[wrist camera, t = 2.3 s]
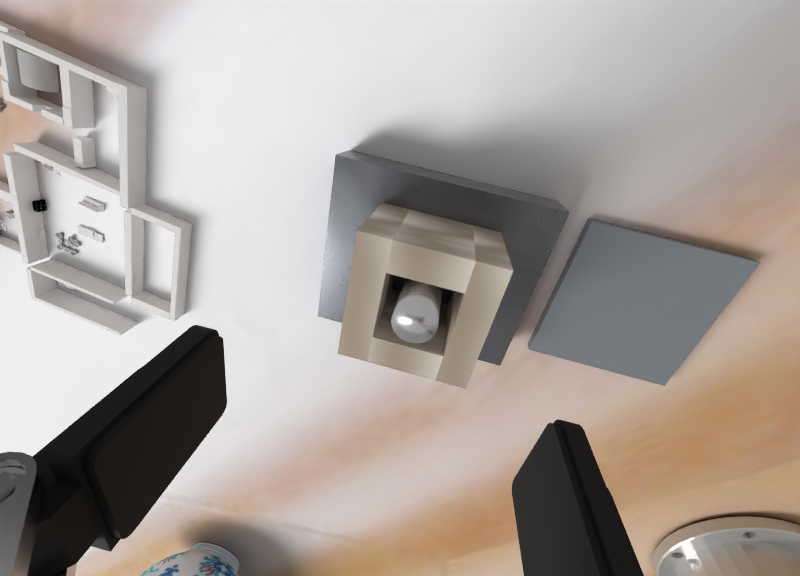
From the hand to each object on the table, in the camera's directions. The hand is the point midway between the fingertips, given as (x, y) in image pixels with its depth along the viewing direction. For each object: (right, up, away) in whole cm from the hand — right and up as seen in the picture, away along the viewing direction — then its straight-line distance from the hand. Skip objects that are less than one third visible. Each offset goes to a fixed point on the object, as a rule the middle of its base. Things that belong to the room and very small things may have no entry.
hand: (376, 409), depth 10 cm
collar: (+2, +4, +10) cm, 11 cm away
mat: (+15, +2, +11) cm, 19 cm away
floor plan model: (-20, +9, +15) cm, 27 cm away
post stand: (+3, +6, +12) cm, 13 cm away
